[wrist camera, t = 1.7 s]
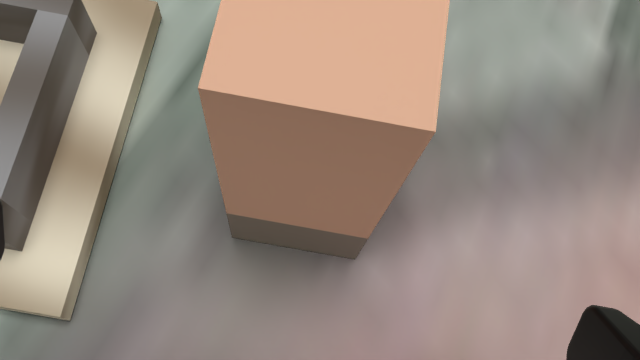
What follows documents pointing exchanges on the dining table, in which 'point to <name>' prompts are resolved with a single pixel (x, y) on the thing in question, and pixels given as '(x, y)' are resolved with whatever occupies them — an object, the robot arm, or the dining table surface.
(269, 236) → the brown rectangular block
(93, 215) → the square socket base
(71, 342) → the dining table surface
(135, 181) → the dining table surface
